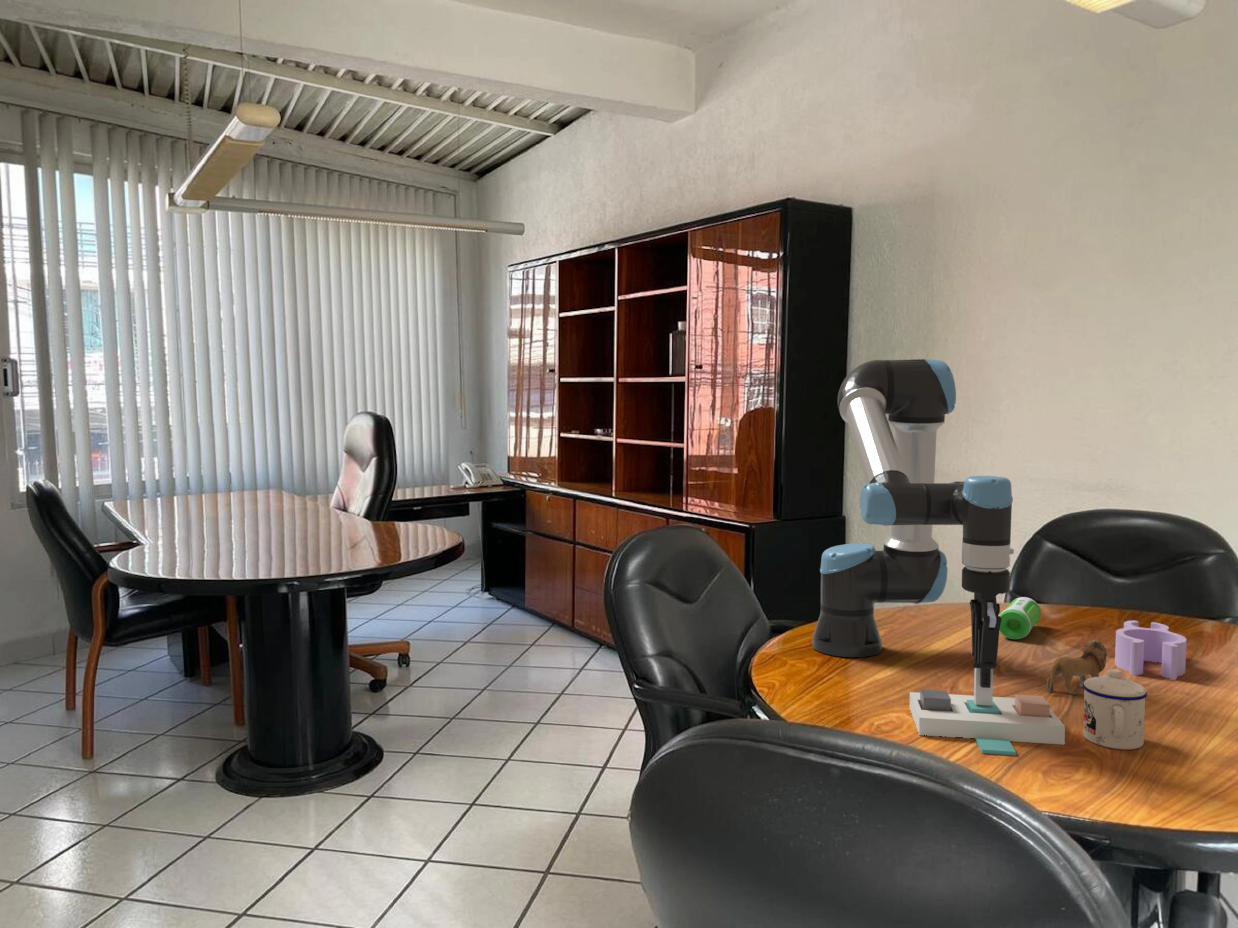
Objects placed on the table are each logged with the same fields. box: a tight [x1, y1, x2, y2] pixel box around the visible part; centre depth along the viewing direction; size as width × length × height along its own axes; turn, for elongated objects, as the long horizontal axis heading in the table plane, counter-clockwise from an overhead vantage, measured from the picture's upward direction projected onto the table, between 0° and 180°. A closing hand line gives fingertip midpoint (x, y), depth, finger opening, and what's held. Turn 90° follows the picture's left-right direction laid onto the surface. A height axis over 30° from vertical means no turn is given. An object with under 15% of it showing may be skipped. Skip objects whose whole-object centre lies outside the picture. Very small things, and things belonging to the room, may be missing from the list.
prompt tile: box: [975, 738, 1017, 757], centre depth 139 cm, size 5×5×1 cm
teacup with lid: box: [1082, 668, 1148, 751], centre depth 140 cm, size 12×9×12 cm
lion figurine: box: [1045, 639, 1108, 696], centre depth 166 cm, size 15×5×9 cm, turn 117°
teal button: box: [967, 700, 1000, 714], centre depth 149 cm, size 4×4×3 cm
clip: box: [1114, 620, 1187, 681], centre depth 182 cm, size 20×12×7 cm, turn 154°
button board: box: [909, 691, 1066, 746], centre depth 149 cm, size 13×22×3 cm, turn 78°
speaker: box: [998, 596, 1042, 640], centre depth 208 cm, size 18×7×8 cm, turn 146°
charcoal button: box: [919, 688, 951, 712], centre depth 150 cm, size 4×4×3 cm
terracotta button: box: [1014, 694, 1051, 717], centre depth 147 cm, size 4×4×3 cm
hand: (983, 703), depth 148 cm, fingers closed
